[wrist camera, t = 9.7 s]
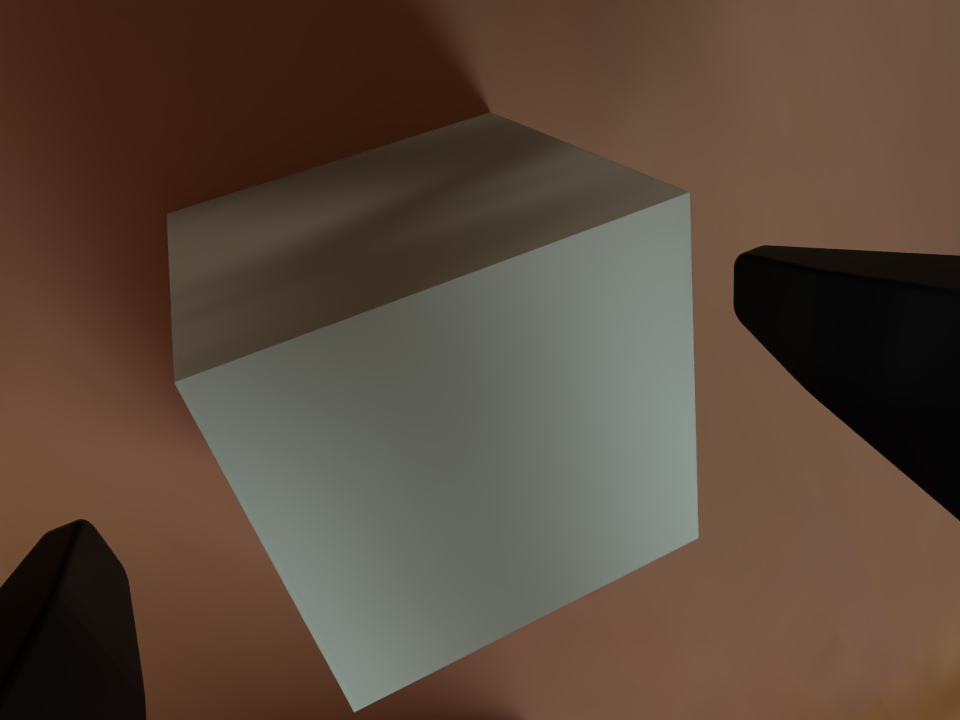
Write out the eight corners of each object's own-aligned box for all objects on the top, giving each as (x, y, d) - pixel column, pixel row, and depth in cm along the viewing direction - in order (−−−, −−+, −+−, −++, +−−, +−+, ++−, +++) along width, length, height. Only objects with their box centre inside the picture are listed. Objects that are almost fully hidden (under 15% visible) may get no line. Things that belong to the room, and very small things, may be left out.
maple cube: (488, 111, 11) (689, 192, 7) (535, 369, 13) (698, 538, 9) (166, 212, 10) (174, 382, 6) (289, 471, 12) (354, 712, 8)
